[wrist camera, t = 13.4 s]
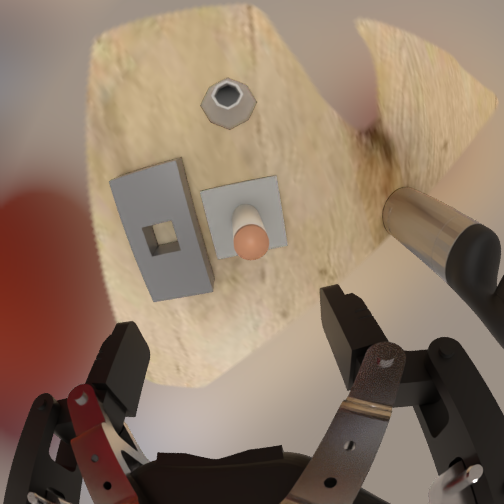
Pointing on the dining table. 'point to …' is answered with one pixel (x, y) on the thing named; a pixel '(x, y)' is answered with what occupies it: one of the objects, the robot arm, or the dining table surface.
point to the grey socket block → (158, 211)
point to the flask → (228, 103)
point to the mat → (233, 195)
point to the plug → (249, 233)
